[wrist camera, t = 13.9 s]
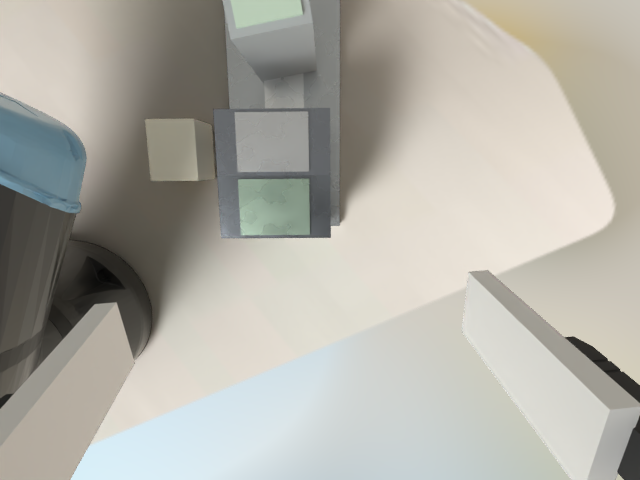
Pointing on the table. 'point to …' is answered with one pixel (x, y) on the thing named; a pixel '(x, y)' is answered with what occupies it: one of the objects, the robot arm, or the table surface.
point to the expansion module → (273, 35)
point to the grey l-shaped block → (282, 143)
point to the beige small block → (180, 150)
